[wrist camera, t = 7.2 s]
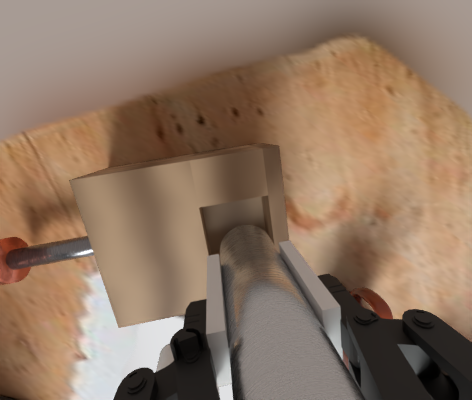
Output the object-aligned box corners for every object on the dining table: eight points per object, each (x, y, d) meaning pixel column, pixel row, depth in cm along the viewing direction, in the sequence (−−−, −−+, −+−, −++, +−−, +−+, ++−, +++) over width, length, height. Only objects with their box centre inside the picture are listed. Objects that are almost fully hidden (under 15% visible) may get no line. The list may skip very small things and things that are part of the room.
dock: (140, 279, 31) (118, 327, 23) (108, 167, 27) (69, 180, 19) (273, 254, 32) (294, 291, 24) (259, 142, 28) (279, 145, 21)
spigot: (224, 278, 19) (260, 610, 6) (215, 230, 18) (234, 501, 5) (275, 268, 20) (422, 565, 6) (268, 220, 18) (431, 451, 5)
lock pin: (27, 269, 27) (-6, 294, 23) (12, 232, 26) (-26, 251, 22) (152, 246, 28) (143, 266, 24) (143, 209, 27) (131, 222, 23)
